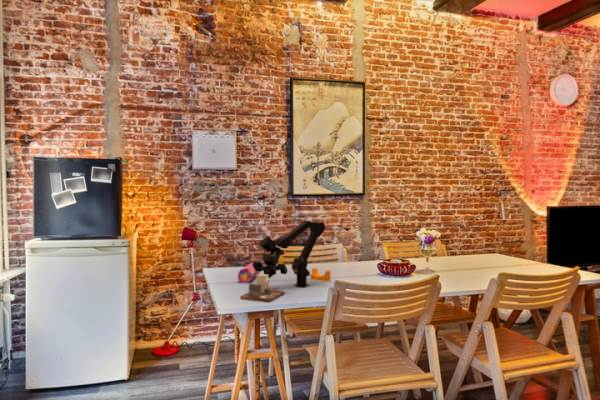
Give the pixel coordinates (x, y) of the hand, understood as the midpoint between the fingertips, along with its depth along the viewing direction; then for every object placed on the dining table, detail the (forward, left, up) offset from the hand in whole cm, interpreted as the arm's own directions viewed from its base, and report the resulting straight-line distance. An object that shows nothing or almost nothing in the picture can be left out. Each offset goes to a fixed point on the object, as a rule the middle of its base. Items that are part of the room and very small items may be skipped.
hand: (264, 280), depth 226 cm
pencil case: (-29, -25, -8) cm, 39 cm away
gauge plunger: (+2, +2, -5) cm, 6 cm away
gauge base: (+4, 0, -7) cm, 8 cm away
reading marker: (+5, +5, -5) cm, 9 cm away
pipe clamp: (-47, +15, -8) cm, 49 cm away
